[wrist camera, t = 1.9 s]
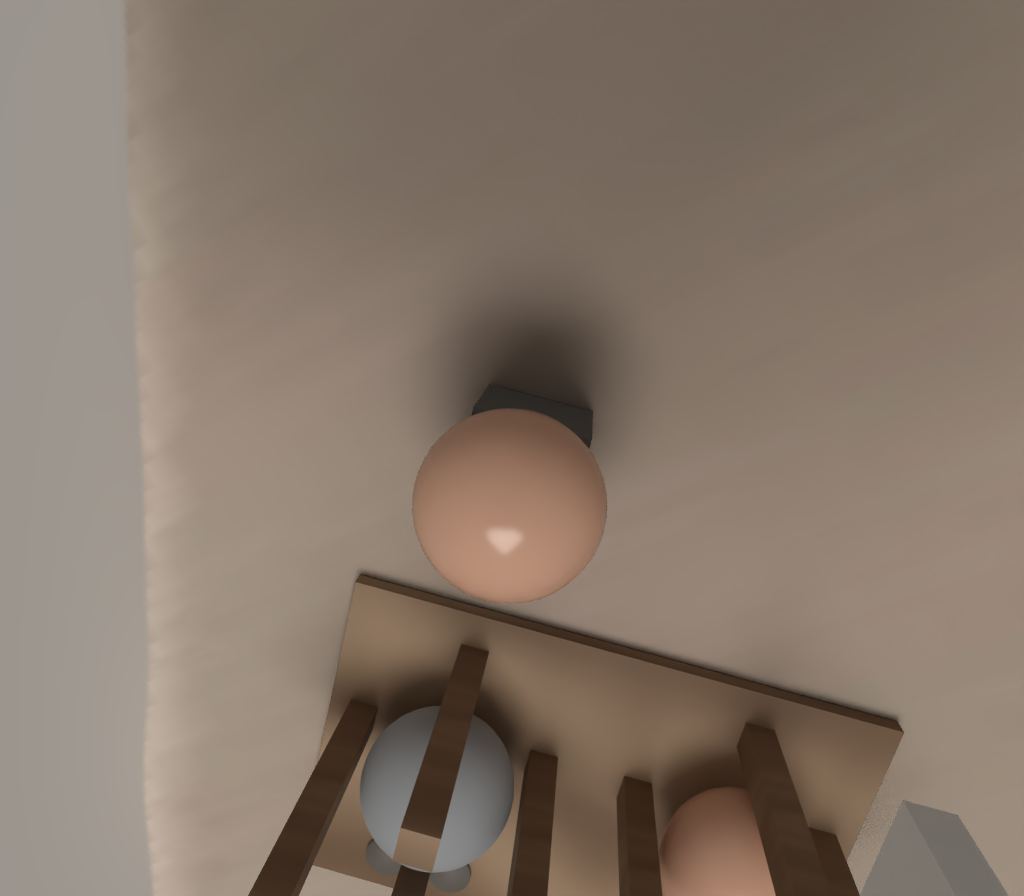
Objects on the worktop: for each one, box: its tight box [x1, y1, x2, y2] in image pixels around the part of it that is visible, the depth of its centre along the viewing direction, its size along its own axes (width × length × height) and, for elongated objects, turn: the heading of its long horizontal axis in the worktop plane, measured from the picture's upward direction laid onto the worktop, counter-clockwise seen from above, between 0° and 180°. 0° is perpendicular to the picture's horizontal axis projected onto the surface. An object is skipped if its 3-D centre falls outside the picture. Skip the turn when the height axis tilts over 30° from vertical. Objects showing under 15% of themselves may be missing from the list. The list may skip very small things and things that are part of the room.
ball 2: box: [659, 787, 776, 896], centre depth 26 cm, size 5×5×5 cm
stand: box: [472, 384, 593, 448], centre depth 25 cm, size 3×3×4 cm
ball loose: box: [412, 408, 607, 604], centre depth 21 cm, size 5×5×5 cm
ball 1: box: [360, 706, 514, 873], centre depth 27 cm, size 5×5×5 cm
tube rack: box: [248, 575, 904, 896], centre depth 25 cm, size 12×19×10 cm, turn 76°
